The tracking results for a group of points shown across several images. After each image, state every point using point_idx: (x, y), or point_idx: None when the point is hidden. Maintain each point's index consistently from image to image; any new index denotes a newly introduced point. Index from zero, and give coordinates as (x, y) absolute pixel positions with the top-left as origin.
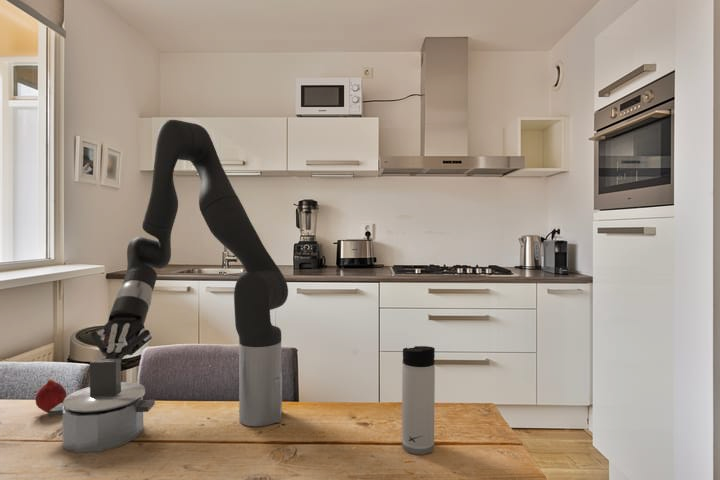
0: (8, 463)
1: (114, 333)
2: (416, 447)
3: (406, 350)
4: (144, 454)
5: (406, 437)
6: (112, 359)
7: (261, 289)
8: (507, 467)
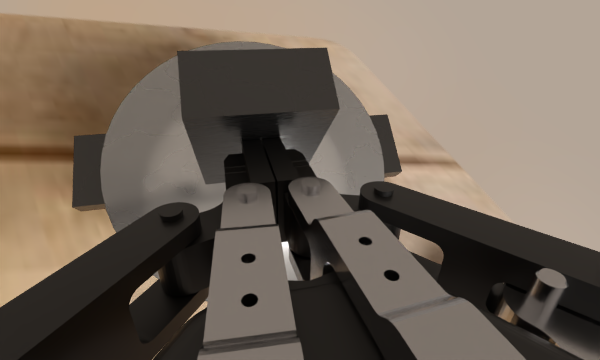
0: (367, 71)
1: (375, 274)
2: None
3: None
4: (91, 90)
5: None
6: (227, 98)
7: None
8: None
